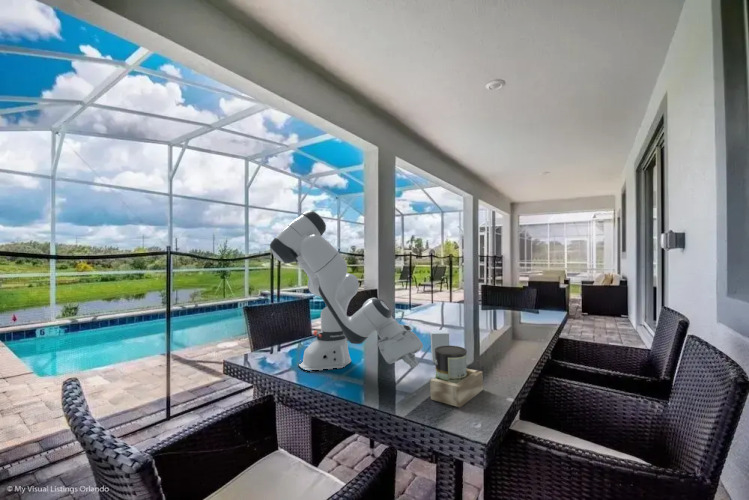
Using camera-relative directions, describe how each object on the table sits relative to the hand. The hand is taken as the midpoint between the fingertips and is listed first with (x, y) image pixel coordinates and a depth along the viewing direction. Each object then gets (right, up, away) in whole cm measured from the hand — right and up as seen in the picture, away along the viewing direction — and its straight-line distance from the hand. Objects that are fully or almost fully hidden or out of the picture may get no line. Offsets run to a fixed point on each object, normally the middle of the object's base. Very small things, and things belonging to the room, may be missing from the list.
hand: (415, 366), depth 123 cm
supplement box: (+14, -6, +24) cm, 28 cm away
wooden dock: (+12, -5, -11) cm, 18 cm away
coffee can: (+11, -6, -10) cm, 16 cm away
